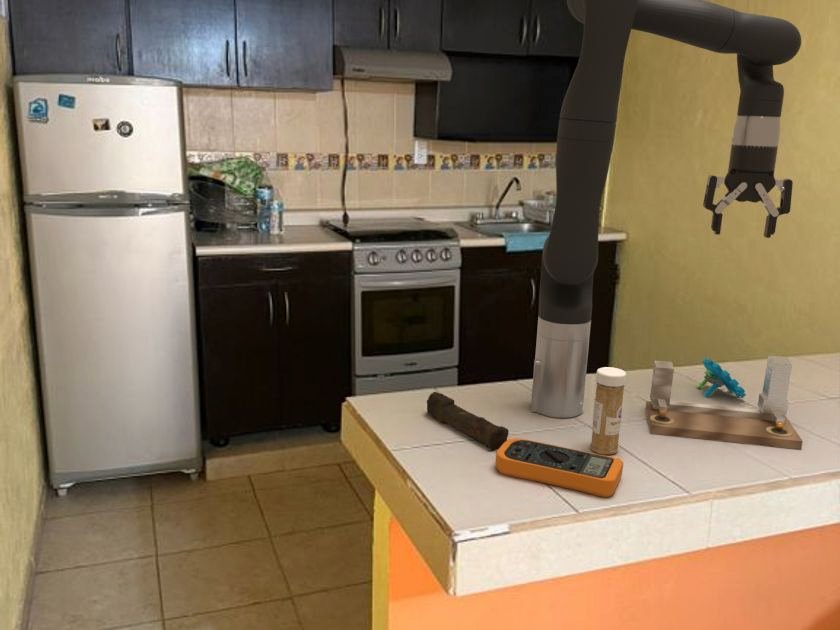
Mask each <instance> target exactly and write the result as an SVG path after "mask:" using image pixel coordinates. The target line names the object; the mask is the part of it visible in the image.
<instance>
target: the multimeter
mask: <svg viewBox="0 0 840 630" xmlns="http://www.w3.org/2000/svg"><path fill="white" fill-rule="evenodd" d="M495 467H496V469H497V471H498V472H499V473H501V474H503V475H505V476H509V477H513V478H520V479H524V480H528V481H533V482H538V483H543V484H547V485H552V486H556V487H561V488H566V489H570V490H574V491H578V492H582V493H586V494H590V495H594V496H597V497H601V498H609V497H612V496H613V494H614V493H615V491H616V489H617V486H618V485H619V482H620V481H621V478H622V475H623V469H624V461H623V460H622V459H621V458H619V457H614V456H609V455H604V454H600V453H595V452H594V453H593V452H587V451H583V450H578V449H573V448H568V447H565V446H558V445H554V444H550V443H544V442H541V441H535V440H531V439H526V438H518V437H517V438H509V439H507V441H505V442H504V443H503V444H502V446H501V447H500V448H499V449H498V450H496V453H495Z"/></svg>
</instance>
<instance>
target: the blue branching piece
mask: <svg viewBox="0 0 840 630" xmlns="http://www.w3.org/2000/svg"><path fill="white" fill-rule="evenodd" d="M702 363H703V367H704V368H705V370H704V372H703V373H704V374H705V375H704V376H703V379H704V380H702V381H701V382H700V383H699V384H698V385H697V386H696V387H697V389H699V390H701V389H702V388H703V387H704V386H705V385H707V384H708V383H709V384H712V385H711V386H710V387H709V388H708V389H707V390H706V391H705V392H704V393H703V395H704V397H706V398H709V397H710V396H711V395H712V394H714V392H715V391H716V390H717V389H718V388H722V386H725V388H726V389H727V391H728V392H730V393H731V394H734V395H735V396H736V397H738V398H741V399H744V397H745V396H746V395H747V394H746V393H745V391H746V390H745V389H744V388H743V387H742V386H739V385H740V383H739V382H738V381H737V380H736V379H735V378H734V379H732V377H731V374H730V373H729V372H728V371H727V370H726V369H723V368H722V366H721V365H720V364H719V363H718V362H713V360H712V359H711V358H704V359H703V360H702Z"/></svg>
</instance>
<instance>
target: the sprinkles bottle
mask: <svg viewBox="0 0 840 630" xmlns="http://www.w3.org/2000/svg"><path fill="white" fill-rule="evenodd" d="M595 376H596V377H595V381H596V389H595V398H594V405H593V415H592V416H593V417H592V427H591V430H592V431H591V441H590V445H589V446H590V447H589V448H590V449H591V450H592V451H593V452H594V453H595V454H599V455H605V456H609V455H614V454H617V453H618V452H619V438H620V433H621V432H620V431H621V424H622V423H621V422H622V414H623V401H624V400H623V399H624V387H625V385H626V383H627V372H626V371H625V370H623V369H621V368H617V367H611V366H608V367H607V366H604V367H600V368H598V369H597V370H596V375H595Z"/></svg>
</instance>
